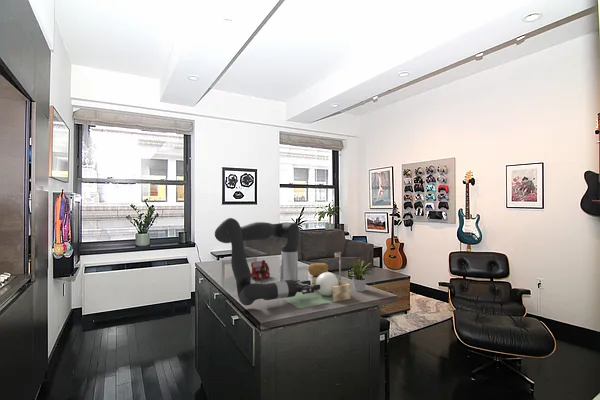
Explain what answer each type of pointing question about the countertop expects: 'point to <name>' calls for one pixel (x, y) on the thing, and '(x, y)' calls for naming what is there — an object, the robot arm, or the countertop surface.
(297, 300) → the green mat
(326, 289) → the ball
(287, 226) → the robot arm
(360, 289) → the house plant
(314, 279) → the wooden u-shaped frame
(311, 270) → the potato
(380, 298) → the countertop surface
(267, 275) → the toy fire truck
